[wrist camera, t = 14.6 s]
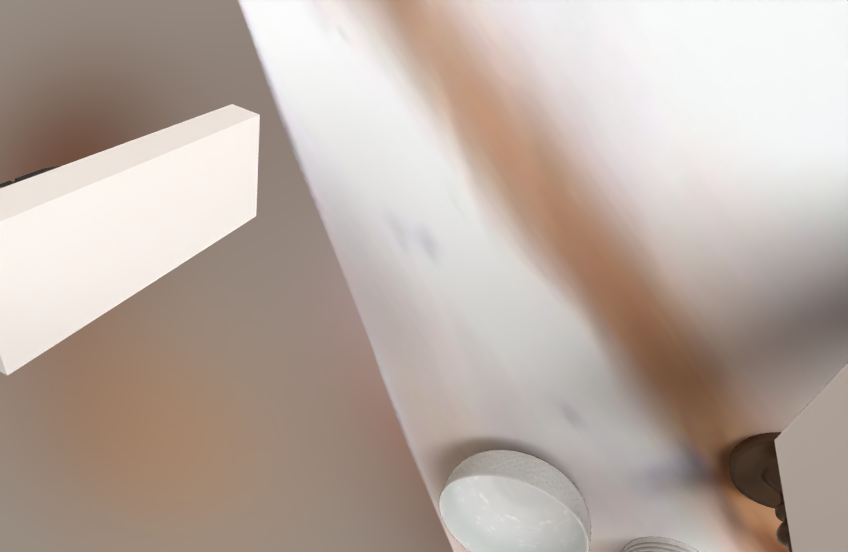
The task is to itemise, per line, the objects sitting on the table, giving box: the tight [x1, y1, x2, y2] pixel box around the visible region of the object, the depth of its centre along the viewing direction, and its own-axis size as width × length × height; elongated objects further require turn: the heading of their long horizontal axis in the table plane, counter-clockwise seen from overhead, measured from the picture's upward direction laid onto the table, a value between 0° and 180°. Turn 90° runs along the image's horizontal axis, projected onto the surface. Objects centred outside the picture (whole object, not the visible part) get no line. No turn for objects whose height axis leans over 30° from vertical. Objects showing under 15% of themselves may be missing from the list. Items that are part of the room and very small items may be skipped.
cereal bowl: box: [439, 450, 591, 552], centre depth 64 cm, size 17×17×7 cm
